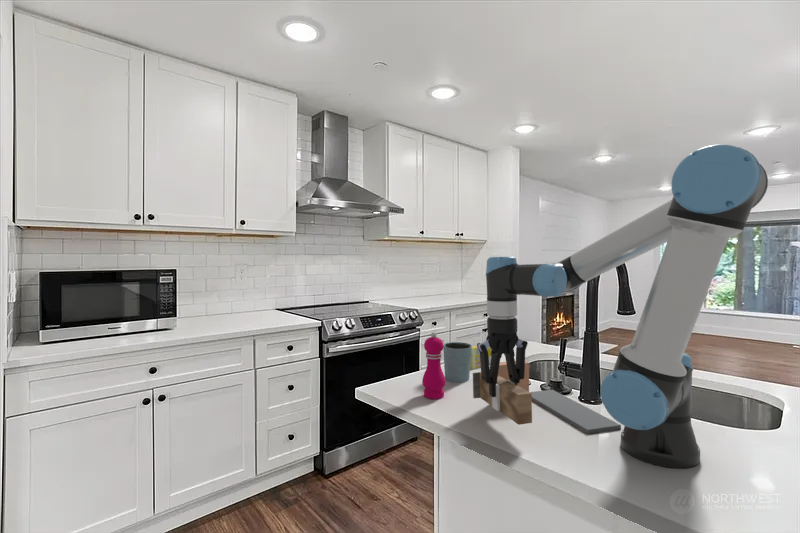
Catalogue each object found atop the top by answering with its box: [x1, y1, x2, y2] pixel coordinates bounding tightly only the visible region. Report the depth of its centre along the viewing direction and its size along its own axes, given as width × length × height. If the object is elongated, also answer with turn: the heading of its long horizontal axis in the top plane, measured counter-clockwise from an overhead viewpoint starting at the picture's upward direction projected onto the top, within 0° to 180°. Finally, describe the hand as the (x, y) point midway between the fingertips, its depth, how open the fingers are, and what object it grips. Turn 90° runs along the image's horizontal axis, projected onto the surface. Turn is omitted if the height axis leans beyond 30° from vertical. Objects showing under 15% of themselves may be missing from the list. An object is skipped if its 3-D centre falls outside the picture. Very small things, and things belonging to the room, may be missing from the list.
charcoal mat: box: [529, 389, 622, 434], centre depth 118 cm, size 28×10×1 cm, turn 16°
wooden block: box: [472, 371, 533, 426], centre depth 107 cm, size 21×7×7 cm, turn 15°
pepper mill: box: [421, 331, 447, 400], centre depth 130 cm, size 7×7×20 cm
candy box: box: [470, 345, 491, 370], centre depth 165 cm, size 16×2×8 cm, turn 130°
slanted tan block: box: [498, 360, 530, 392], centre depth 124 cm, size 4×10×12 cm, turn 105°
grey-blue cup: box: [442, 341, 473, 383], centre depth 147 cm, size 10×10×12 cm
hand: (503, 407), depth 107 cm, fingers closed on wooden block, 3 cm apart
